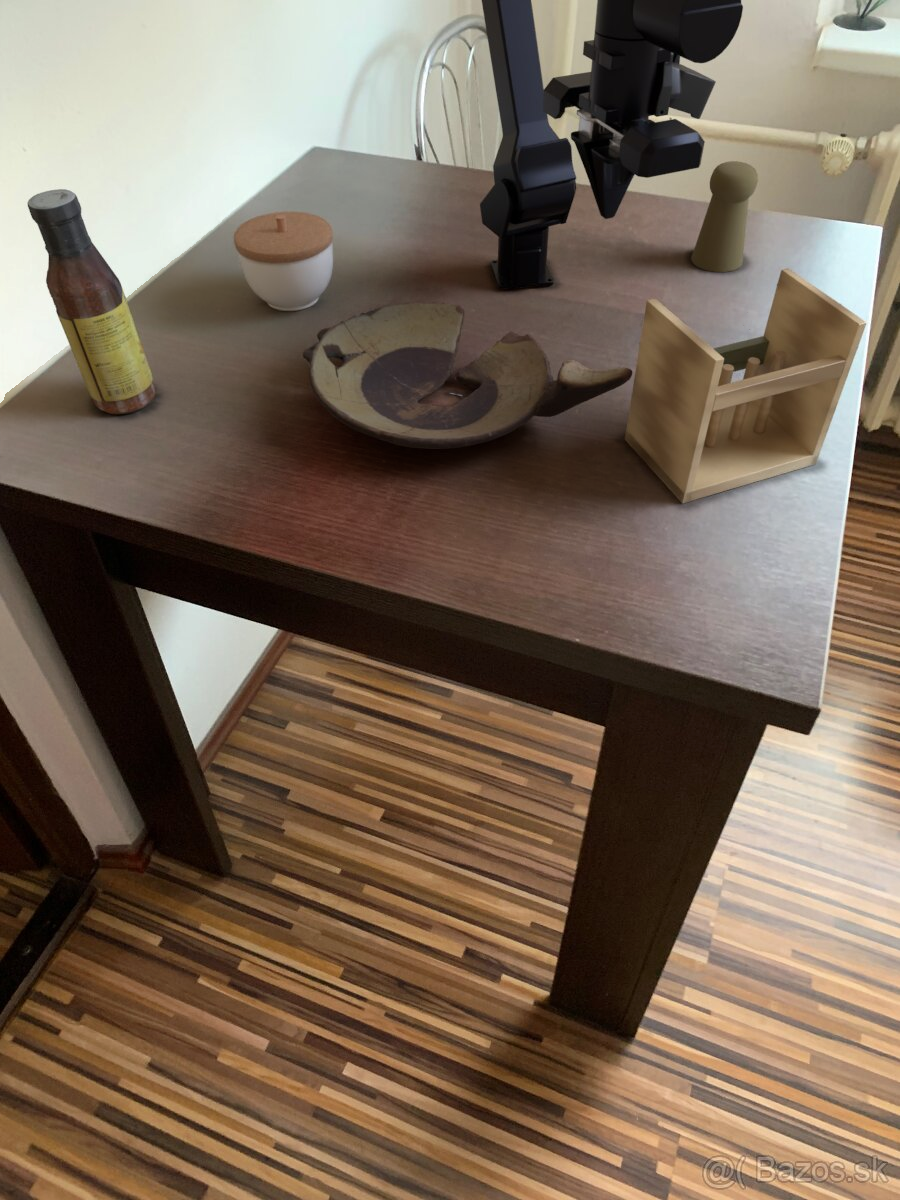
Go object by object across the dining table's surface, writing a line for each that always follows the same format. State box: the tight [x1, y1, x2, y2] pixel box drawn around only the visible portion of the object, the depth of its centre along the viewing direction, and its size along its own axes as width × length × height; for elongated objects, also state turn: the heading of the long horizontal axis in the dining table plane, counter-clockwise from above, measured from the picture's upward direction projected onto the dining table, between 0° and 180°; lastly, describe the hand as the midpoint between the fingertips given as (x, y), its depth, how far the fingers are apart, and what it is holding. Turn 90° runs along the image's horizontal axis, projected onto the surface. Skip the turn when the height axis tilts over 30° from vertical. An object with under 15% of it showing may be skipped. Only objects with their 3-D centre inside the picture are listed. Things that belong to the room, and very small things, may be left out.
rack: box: [624, 268, 868, 504], centre depth 76 cm, size 10×14×14 cm
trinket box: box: [233, 211, 334, 312], centre depth 98 cm, size 11×11×9 cm
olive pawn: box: [691, 160, 759, 273], centre depth 103 cm, size 6×6×11 cm
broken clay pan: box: [302, 301, 633, 450], centre depth 83 cm, size 22×30×8 cm
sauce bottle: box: [27, 188, 156, 415], centre depth 81 cm, size 7×6×20 cm
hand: (607, 216), depth 85 cm, fingers closed
